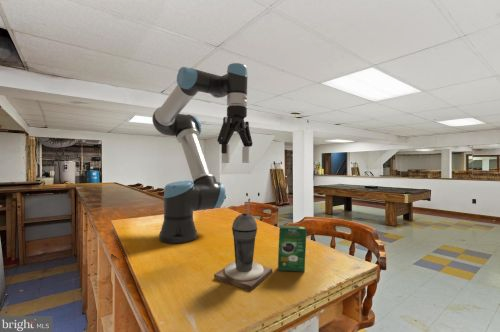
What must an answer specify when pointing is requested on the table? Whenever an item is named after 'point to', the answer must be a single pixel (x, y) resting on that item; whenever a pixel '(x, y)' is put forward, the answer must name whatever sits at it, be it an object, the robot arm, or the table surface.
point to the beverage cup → (244, 240)
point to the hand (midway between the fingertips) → (236, 162)
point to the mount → (243, 276)
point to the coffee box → (292, 248)
